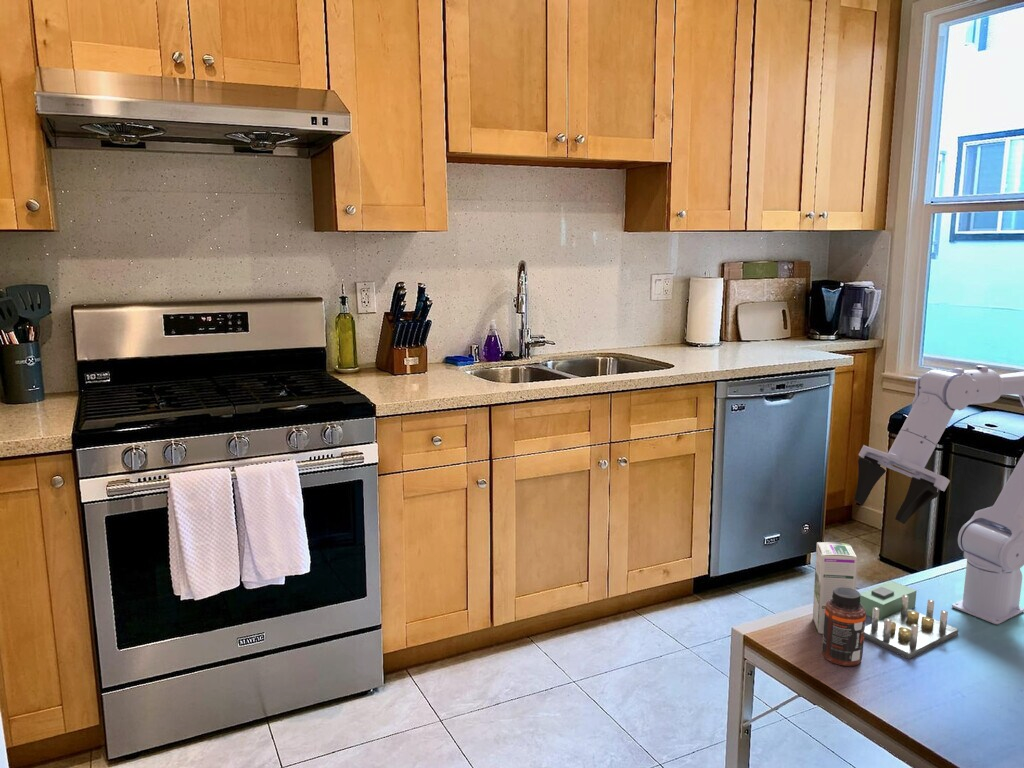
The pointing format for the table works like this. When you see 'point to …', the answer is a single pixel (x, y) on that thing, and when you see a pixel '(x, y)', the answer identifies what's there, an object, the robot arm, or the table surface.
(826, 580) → the syrup box
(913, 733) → the table surface
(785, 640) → the table surface
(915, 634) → the chassis
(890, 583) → the green rectangular block
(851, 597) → the supplement bottle
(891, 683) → the table surface
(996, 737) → the table surface
